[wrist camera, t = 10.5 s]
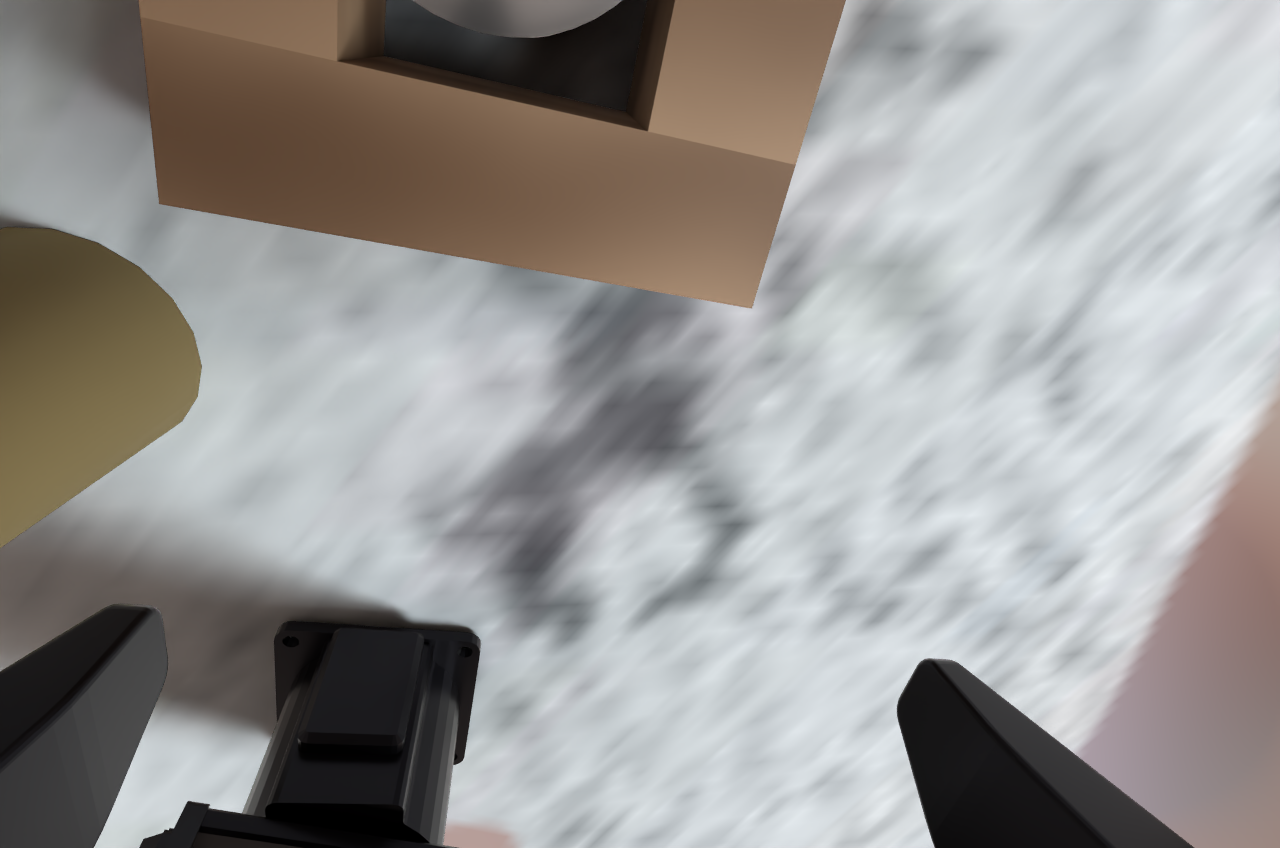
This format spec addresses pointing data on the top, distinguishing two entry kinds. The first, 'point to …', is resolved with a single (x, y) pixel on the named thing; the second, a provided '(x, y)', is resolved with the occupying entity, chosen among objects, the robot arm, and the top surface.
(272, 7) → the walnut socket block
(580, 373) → the top surface
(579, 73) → the top surface
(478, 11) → the grey metal peg
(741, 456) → the top surface
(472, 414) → the top surface
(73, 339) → the cork
